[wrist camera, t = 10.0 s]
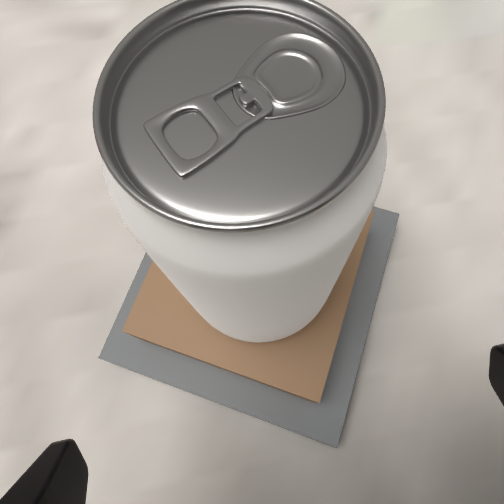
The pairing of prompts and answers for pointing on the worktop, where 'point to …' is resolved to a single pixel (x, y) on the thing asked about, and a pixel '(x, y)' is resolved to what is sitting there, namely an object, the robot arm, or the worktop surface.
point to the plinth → (262, 397)
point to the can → (244, 154)
